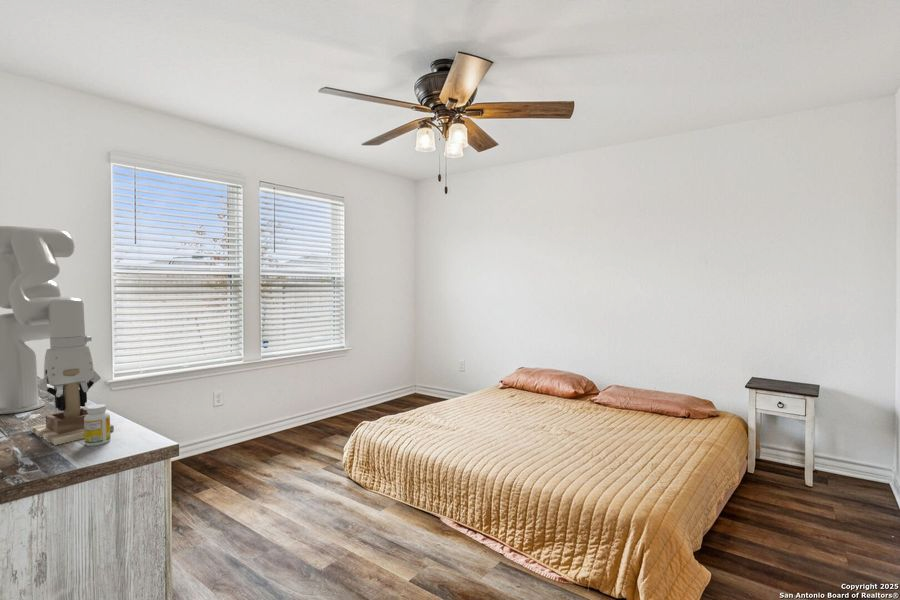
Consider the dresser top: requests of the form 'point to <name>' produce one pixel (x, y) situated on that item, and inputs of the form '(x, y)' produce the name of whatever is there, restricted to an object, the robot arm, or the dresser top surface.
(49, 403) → the dresser top surface
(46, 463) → the dresser top surface
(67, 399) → the handle
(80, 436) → the wooden base with box
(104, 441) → the supplement bottle
